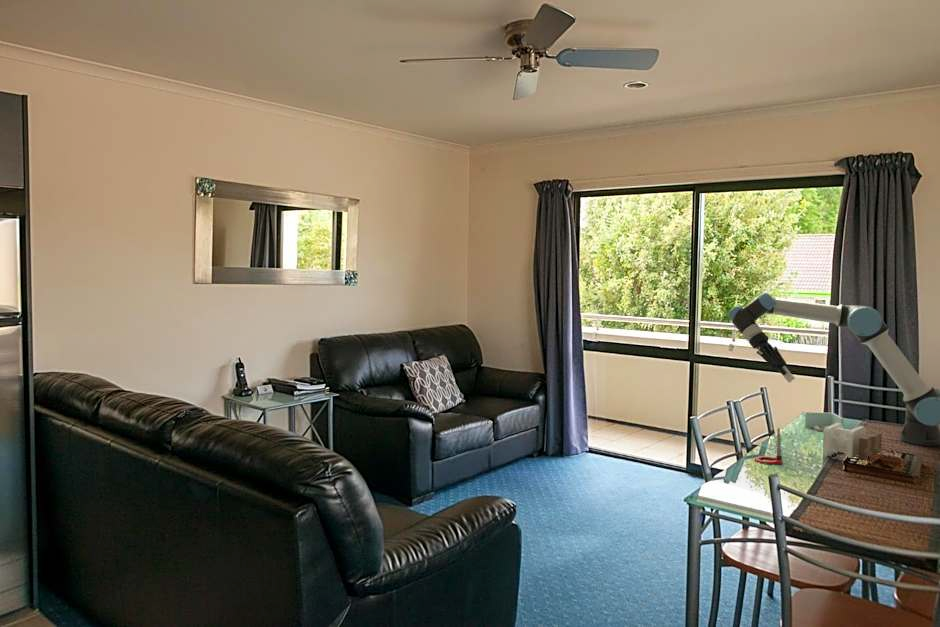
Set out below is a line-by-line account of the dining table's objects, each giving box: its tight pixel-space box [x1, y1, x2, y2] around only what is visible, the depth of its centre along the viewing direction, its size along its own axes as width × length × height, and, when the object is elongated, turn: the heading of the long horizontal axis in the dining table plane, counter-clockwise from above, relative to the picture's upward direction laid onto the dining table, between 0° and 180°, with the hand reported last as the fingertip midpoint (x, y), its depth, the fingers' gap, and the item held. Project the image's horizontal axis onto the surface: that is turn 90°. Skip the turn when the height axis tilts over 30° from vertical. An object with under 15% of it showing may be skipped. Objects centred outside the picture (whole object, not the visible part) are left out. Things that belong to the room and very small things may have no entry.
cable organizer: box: [822, 423, 866, 458], centre depth 264 cm, size 15×11×12 cm
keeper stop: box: [858, 432, 883, 460], centre depth 260 cm, size 14×13×10 cm
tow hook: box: [754, 427, 783, 465], centre depth 256 cm, size 8×13×9 cm
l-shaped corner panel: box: [804, 411, 845, 433], centre depth 306 cm, size 12×12×8 cm
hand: (791, 380), depth 283 cm, fingers closed
